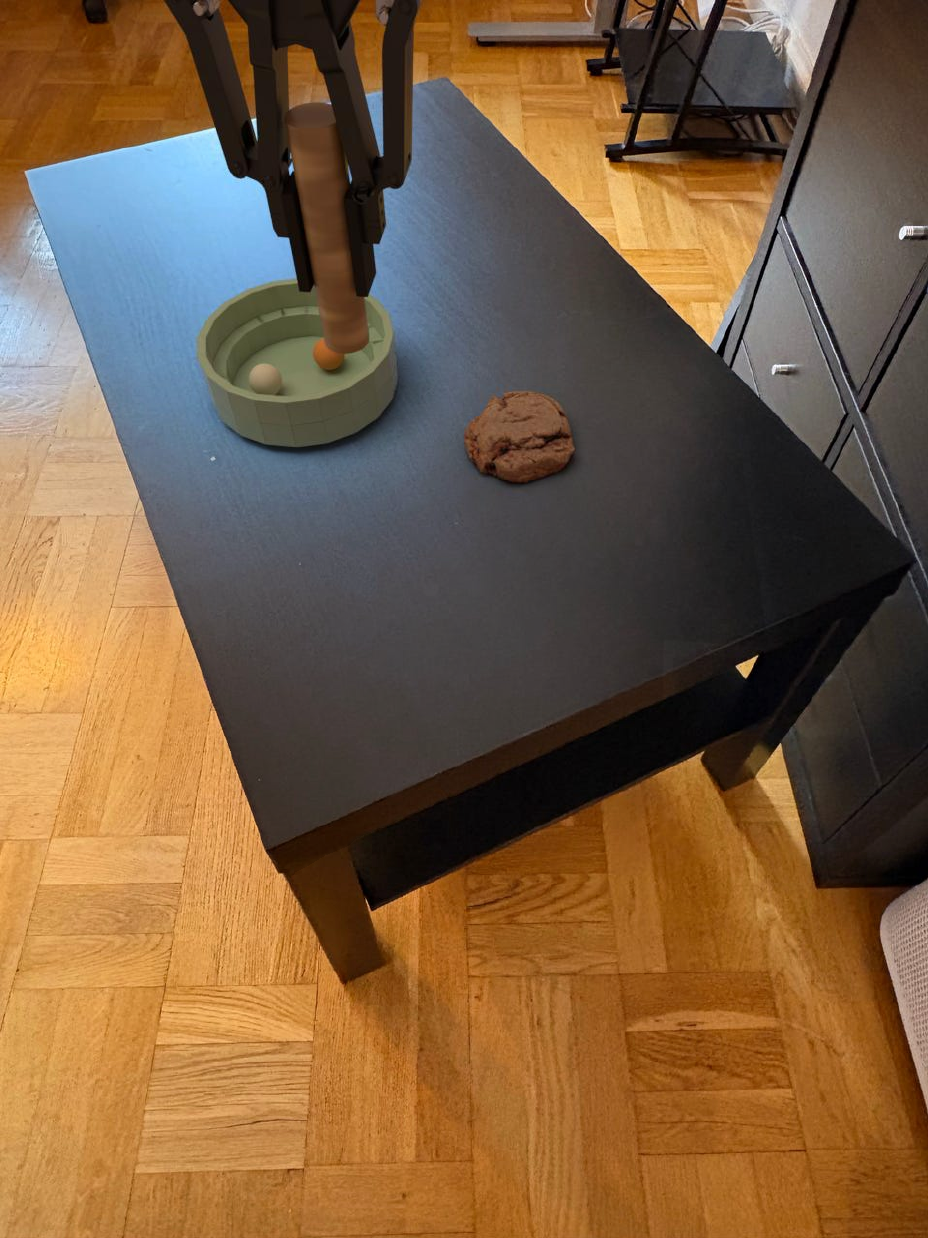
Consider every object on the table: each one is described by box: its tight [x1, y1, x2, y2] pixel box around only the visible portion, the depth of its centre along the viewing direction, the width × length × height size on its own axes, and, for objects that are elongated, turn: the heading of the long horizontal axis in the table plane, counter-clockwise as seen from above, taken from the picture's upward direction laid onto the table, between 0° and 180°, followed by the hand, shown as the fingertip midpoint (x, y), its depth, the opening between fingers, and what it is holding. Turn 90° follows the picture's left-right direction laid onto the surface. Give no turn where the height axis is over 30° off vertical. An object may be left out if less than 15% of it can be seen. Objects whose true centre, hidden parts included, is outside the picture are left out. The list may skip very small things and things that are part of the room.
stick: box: [284, 101, 370, 354], centre depth 54 cm, size 3×3×15 cm
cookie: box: [463, 390, 576, 484], centre depth 75 cm, size 10×11×3 cm
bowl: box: [196, 277, 399, 448], centre depth 79 cm, size 18×18×6 cm
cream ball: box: [249, 363, 282, 395], centre depth 78 cm, size 3×3×3 cm
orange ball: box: [313, 338, 345, 370], centre depth 80 cm, size 3×3×3 cm
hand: (338, 281), depth 56 cm, fingers closed on stick, 3 cm apart
